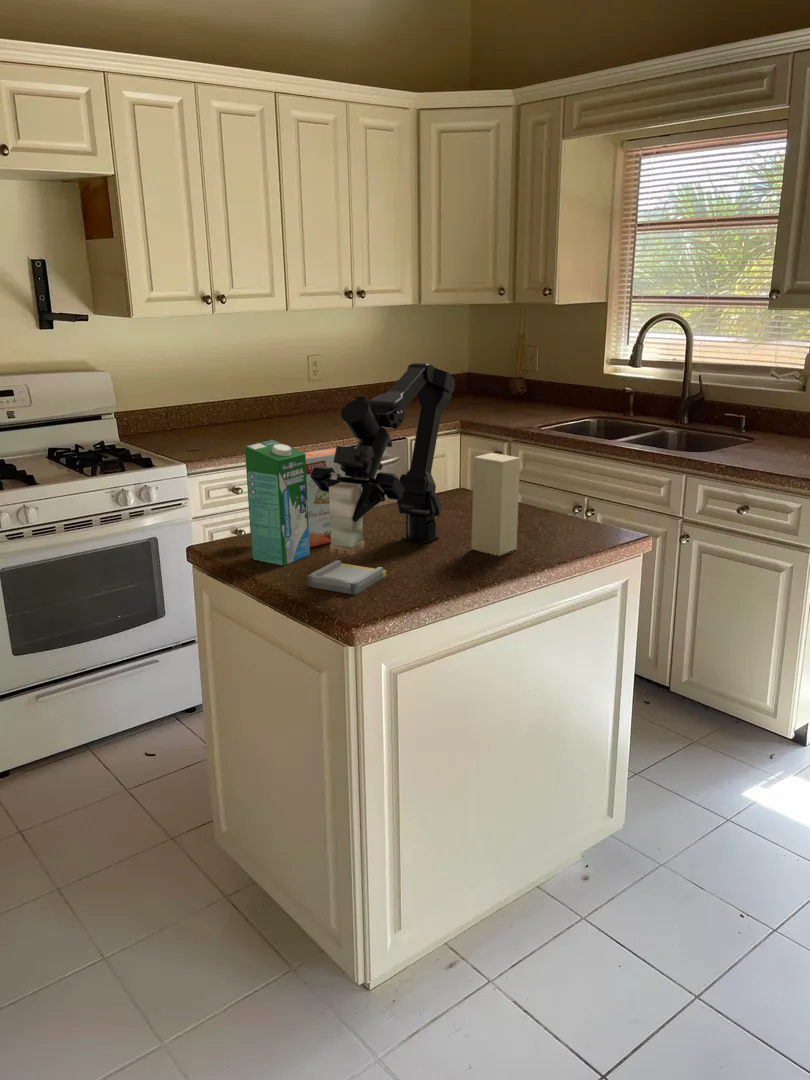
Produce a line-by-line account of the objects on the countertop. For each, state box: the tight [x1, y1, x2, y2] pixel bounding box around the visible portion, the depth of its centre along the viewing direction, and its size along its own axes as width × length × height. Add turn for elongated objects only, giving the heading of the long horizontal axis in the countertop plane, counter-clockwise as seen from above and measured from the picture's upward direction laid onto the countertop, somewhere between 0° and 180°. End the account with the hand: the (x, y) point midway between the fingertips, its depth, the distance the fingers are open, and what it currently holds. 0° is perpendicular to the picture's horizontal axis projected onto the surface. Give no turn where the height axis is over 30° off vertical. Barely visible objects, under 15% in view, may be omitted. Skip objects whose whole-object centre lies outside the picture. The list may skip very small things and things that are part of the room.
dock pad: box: [306, 559, 387, 596], centre depth 172 cm, size 12×11×2 cm
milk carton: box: [244, 439, 311, 567], centre depth 184 cm, size 9×9×25 cm
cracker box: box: [304, 447, 345, 548], centre depth 196 cm, size 14×6×21 cm, turn 131°
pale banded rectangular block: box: [329, 482, 365, 556], centre depth 167 cm, size 5×5×13 cm
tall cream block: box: [471, 452, 521, 557], centre depth 188 cm, size 8×7×21 cm
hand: (342, 519), depth 166 cm, fingers closed on pale banded rectangular block, 5 cm apart
